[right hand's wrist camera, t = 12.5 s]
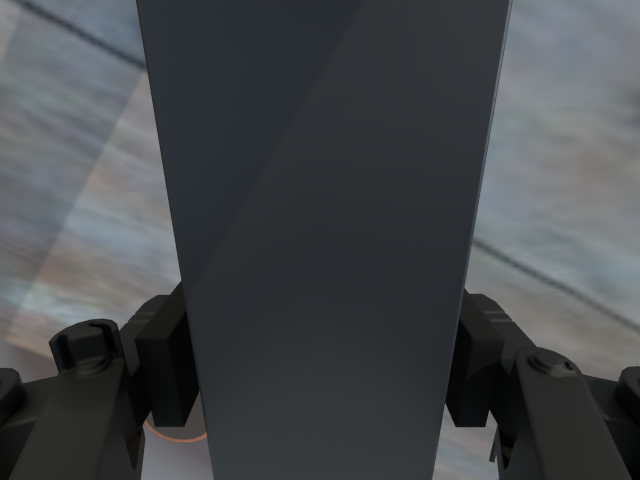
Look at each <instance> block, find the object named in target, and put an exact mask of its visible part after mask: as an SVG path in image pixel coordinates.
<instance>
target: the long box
mask: <svg viewBox="0 0 640 480" xmlns="http://www.w3.org/2000/svg"><path fill="white" fill-rule="evenodd" d="M512 1H513V0H136V3H137V9H138V15H139V22H140V28H141V34H142V40H143V46H144V52H145V59H146V65H147V71H148V77H149V83H150V89H151V95H152V102H153V108H154V114H155V120H156V126H157V132H158V138H159V145H160V151H161V157H162V163H163V169H164V175H165V182H166V188H167V194H168V200H169V206H170V212H171V218H172V225H173V231H174V237H175V243H176V249H177V255H178V262H179V268H180V274H181V280H182V286H183V292H184V298H185V305H186V311H187V317H188V323H189V329H190V335H191V341H192V348H193V354H194V360H195V366H196V372H197V378H198V385H199V391H200V397H201V403H202V409H203V415H204V421H205V428H206V434H207V440H208V446H209V452H210V458H211V465H212V471H213V477H214V480H432V477H433V471H434V465H435V459H436V453H437V447H438V441H439V435H440V429H441V423H442V417H443V411H444V405H445V399H446V394H447V388H448V382H449V376H450V370H451V364H452V358H453V352H454V346H455V340H456V334H457V328H458V322H459V316H460V310H461V304H462V298H463V292H464V286H465V280H466V275H467V269H468V263H469V257H470V251H471V245H472V239H473V233H474V227H475V221H476V215H477V209H478V203H479V197H480V191H481V185H482V179H483V173H484V167H485V161H486V156H487V150H488V144H489V138H490V132H491V126H492V120H493V114H494V108H495V102H496V96H497V90H498V84H499V78H500V72H501V66H502V60H503V54H504V48H505V42H506V37H507V31H508V25H509V19H510V13H511V7H512Z"/></svg>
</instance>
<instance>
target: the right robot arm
mask: <svg viewBox="0 0 640 480" xmlns="http://www.w3.org/2000/svg"><path fill="white" fill-rule="evenodd" d="M49 345H50V348H51V351H52V354H53V357H54V360H55V363H56V366H57V369H58V371H59V373H58V376H55V377H51V378H46V379H41V380H37V381H32V382H27V383H22V380H21V378H20V375H19V373H18V372H17V371H16V370H14V369H12V368H0V480H141V472H142V464H143V455H144V446H145V434H144V429H143V424H144V422H145V420H146V419H147V417H148V415H149V413H150V411H151V413H152V417H153V421H154V426H155V427H185V424H186V422H187V420H188V417H189V415H190V413H191V410H192V408H193V405H194V403H195V401H196V398H197V396H198V394H199V385H198V378H197V372H196V366H195V360H194V354H193V348H192V341H191V335H190V329H189V323H188V317H187V311H186V305H185V298H184V292H183V286H182V281H181V282H180V283H179V284H178V285H177V287H176V288H175V289H174V290H173V292H172V293H171V294H170V295H157V296H155V297H154V298H152V299H150V300H149V301H147V302H145V303H144V304H143V305H142V306H141V307H140V308H139V310H138V311H137V312H136V313H135V315H133V316H132V317H131V318H130V320H129V321H128V323H126V324H125V325H124V326H123V327H122V328H121V329H120V331H119V330H118V326H117V323H115V322H114V321H112V320H108V319H92V320H87V321H84V322H80V323H77V324H74V325H72V326H70V327H67V328H65V329H64V330H62V331H60V332H59V333H57V334H56V335H55V336H54V337H53V338H52V339H51V340H50V341H49ZM445 403H446V405H447V408H448V410H449V413H450V415H451V417H452V420H453V422H454V424H455V427H485V426H486V421H487V417H488V413H489V410H490V411H491V413H492V415H493V417H494V418H495V420H496V422H497V424H498V425H497V429H496V433H495V437H494V441H493V445H492V449H491V453H490V459H489V461H491V462H494V461H495V457H496V455H497V463H498V472H499V480H640V367H639V366H636V367H627V368H626V369H624V370H622V373H621V375H620V378H619V380H618V382H616V381H611V380H606V379H601V378H596V377H592V376H587V375H583V374H582V373H581V371H580V370H579V369H578V367H577V366H576V365H575V364H574V363H573V362H571V361H570V360H569V359H567V358H566V357H564V356H562V355H560V354H558V353H556V352H554V351H551V350H548V349H544V348H540V347H536V345H535V344H534V343H533V342H532V341H531V340H530V339H529V338H528V337H527V336H526V334H525V333H524V332H523V331H522V330H521V329H520V328H519V327H518V326H517V325H516V323H515V322H512V319H511V318H510V317H509V316H508V315H507V314H505V311H504V310H503V309H502V308H501V307H500V306H499V305H498V304H497V303H496V302H495V301H493V300H492V299H490V298H488V297H487V296H485V295H483V294H469V293H468V292H467V290H466V289H465V288H464V292H463V298H462V304H461V310H460V316H459V322H458V328H457V334H456V340H455V346H454V352H453V358H452V364H451V370H450V376H449V382H448V388H447V394H446V399H445Z"/></svg>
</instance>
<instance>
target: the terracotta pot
mask: <svg viewBox="0 0 640 480" xmlns="http://www.w3.org/2000/svg"><path fill="white" fill-rule="evenodd" d="M144 425H145V426H146V427H147V428H148V429H149V430H151V431H152V432H153V433H155V434H156V435H158V436H160V437H162V438H164V439H167V440H171V441H175V442H195V441H199V440H202V439H204V438H206V437H207V434H206V428H205V421H204V415H203V409H202V403H201V397H200V391H199V394H198V396H197V398H196V401H195V403H194V405H193V408H192V410H191V413H190V415H189V417H188V420H187V422H186V424H185V427H155V426H154V421H153V417H152V413H151V411H150V413H149V415H148V417H147V419H146V420H145V422H144Z"/></svg>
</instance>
